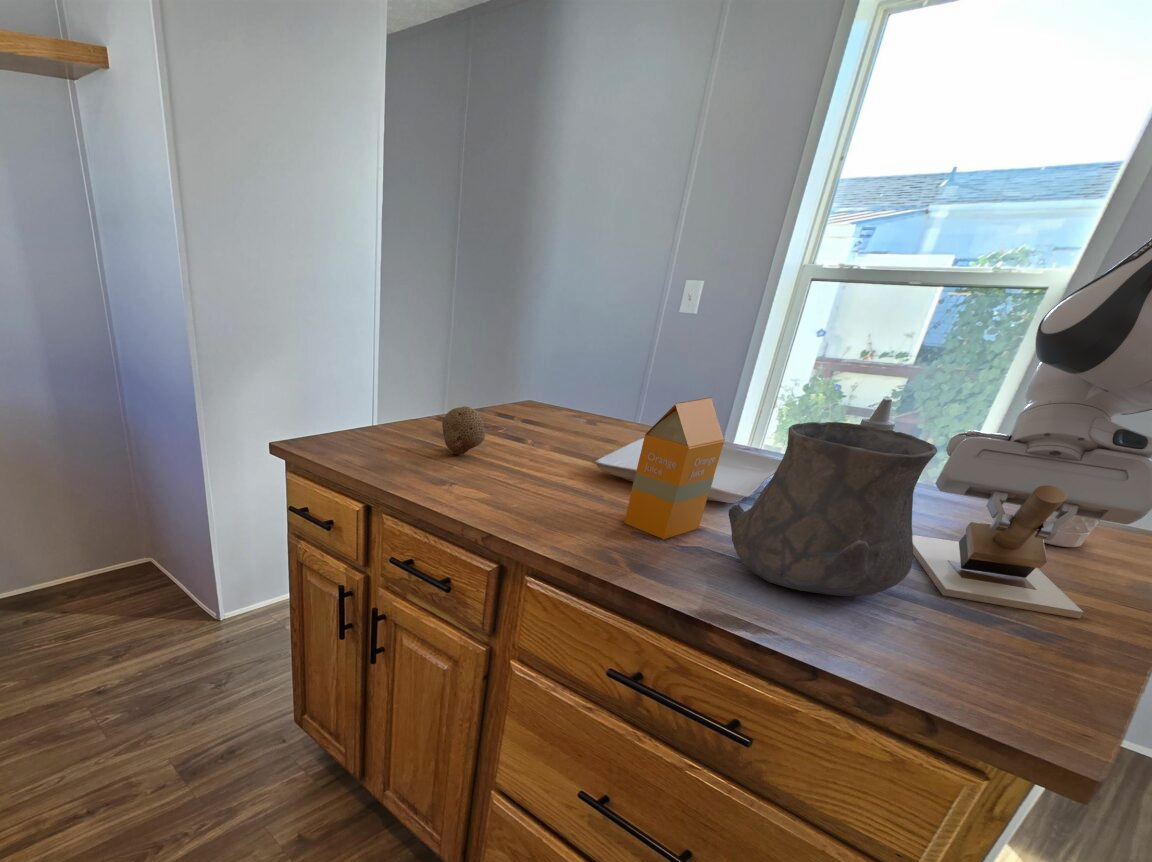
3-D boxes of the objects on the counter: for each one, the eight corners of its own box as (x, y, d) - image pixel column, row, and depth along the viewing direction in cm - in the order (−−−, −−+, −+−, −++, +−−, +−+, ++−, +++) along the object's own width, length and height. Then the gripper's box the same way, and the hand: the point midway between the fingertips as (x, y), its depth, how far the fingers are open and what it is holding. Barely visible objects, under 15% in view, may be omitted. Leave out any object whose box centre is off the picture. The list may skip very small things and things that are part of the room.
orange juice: (699, 528, 105) (737, 402, 95) (664, 539, 101) (699, 408, 91) (657, 512, 111) (689, 392, 101) (622, 522, 107) (652, 397, 97)
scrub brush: (1024, 548, 91) (1087, 481, 81) (1029, 580, 88) (1095, 514, 78) (955, 540, 94) (1008, 474, 84) (958, 570, 91) (1013, 505, 81)
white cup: (1082, 553, 99) (1121, 491, 94) (1013, 536, 104) (1047, 476, 99) (1090, 540, 103) (1128, 480, 98) (1024, 525, 108) (1057, 466, 104)
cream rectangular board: (1015, 556, 98) (1019, 550, 97) (1079, 618, 82) (1084, 611, 81) (902, 539, 103) (905, 533, 102) (942, 595, 87) (946, 588, 86)
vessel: (753, 531, 104) (797, 404, 95) (919, 585, 89) (992, 440, 79) (680, 566, 93) (721, 426, 83) (856, 635, 78) (932, 472, 68)
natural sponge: (483, 450, 142) (488, 403, 137) (482, 462, 134) (488, 413, 129) (441, 447, 143) (445, 400, 138) (438, 459, 135) (442, 410, 130)
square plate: (646, 449, 144) (651, 431, 142) (785, 479, 127) (792, 459, 125) (589, 477, 127) (593, 457, 125) (740, 515, 110) (748, 493, 108)
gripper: (961, 415, 89) (928, 502, 88) (1180, 443, 78) (1147, 543, 77) (946, 440, 95) (914, 523, 93) (1149, 470, 84) (1118, 564, 82)
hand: (1021, 532), depth 85 cm, fingers closed on scrub brush, 3 cm apart
